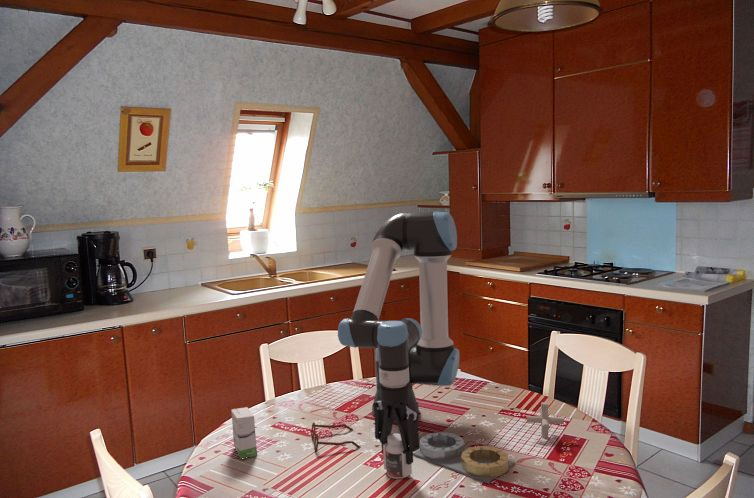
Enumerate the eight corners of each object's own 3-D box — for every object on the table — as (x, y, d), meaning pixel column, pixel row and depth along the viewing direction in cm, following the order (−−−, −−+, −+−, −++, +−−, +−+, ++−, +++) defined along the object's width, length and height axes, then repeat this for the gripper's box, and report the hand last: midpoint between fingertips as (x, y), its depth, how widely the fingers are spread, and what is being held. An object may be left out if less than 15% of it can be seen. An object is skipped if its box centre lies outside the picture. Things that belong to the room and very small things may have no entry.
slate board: (412, 455, 161) (412, 453, 161) (442, 439, 171) (441, 437, 171) (487, 483, 145) (487, 481, 145) (515, 463, 154) (515, 462, 154)
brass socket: (452, 467, 153) (452, 457, 152) (478, 451, 161) (478, 442, 161) (491, 481, 145) (491, 471, 144) (517, 464, 153) (516, 454, 153)
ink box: (257, 456, 165) (255, 415, 163) (240, 460, 162) (237, 419, 161) (250, 444, 172) (247, 405, 171) (233, 448, 170) (230, 408, 169)
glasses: (310, 436, 177) (309, 420, 177) (353, 430, 180) (352, 415, 179) (315, 455, 165) (314, 438, 164) (361, 449, 167) (360, 432, 167)
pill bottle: (382, 474, 151) (380, 437, 150) (397, 466, 155) (396, 430, 154) (398, 482, 147) (396, 443, 146) (413, 474, 151) (412, 436, 150)
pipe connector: (565, 445, 163) (564, 410, 162) (527, 443, 165) (527, 409, 164) (561, 430, 173) (561, 397, 172) (526, 429, 175) (525, 396, 174)
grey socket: (411, 451, 162) (411, 442, 162) (438, 437, 171) (437, 429, 171) (446, 464, 154) (445, 455, 154) (472, 448, 163) (471, 440, 162)
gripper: (357, 379, 152) (361, 465, 155) (413, 395, 139) (416, 488, 142) (377, 372, 158) (381, 455, 160) (433, 387, 145) (435, 477, 147)
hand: (397, 470), depth 151 cm, fingers closed on pill bottle, 6 cm apart
